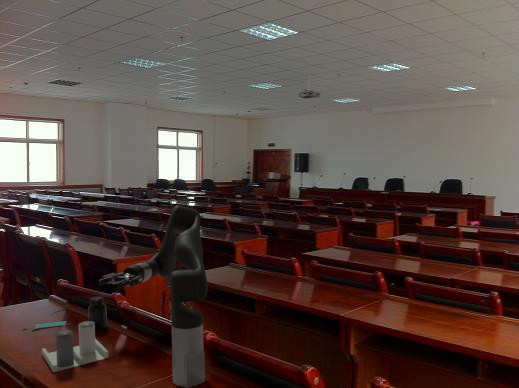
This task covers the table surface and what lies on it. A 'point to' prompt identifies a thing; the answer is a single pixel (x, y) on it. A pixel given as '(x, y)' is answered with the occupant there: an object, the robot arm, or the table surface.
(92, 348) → the white cylinder
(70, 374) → the table surface
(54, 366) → the divided tray
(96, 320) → the supplement bottle
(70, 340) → the grey cylinder
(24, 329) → the surgical mask
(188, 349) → the robot arm
